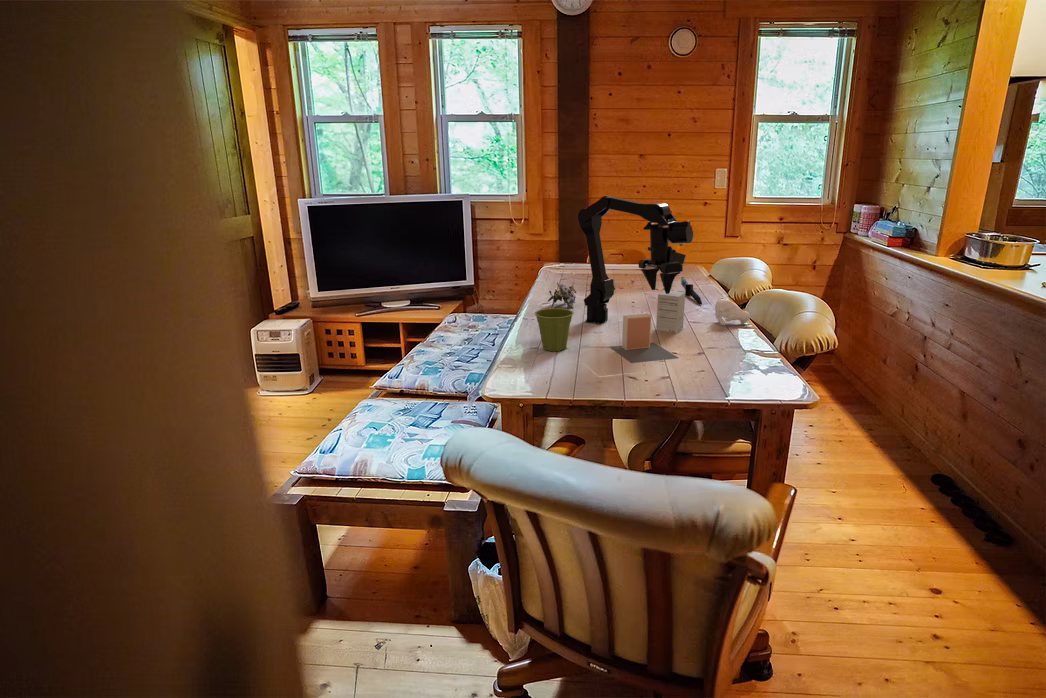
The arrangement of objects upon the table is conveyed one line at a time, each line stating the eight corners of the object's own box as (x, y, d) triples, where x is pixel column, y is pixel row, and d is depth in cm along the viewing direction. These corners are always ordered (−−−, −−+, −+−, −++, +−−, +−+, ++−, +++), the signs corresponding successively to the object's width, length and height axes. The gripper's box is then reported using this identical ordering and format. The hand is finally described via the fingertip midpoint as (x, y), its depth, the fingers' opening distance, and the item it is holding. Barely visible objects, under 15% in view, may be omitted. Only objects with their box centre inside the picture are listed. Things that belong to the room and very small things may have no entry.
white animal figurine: (715, 296, 213) (750, 300, 212) (710, 320, 216) (745, 324, 215) (718, 300, 207) (754, 304, 206) (714, 325, 210) (749, 328, 209)
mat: (609, 347, 187) (609, 346, 187) (653, 343, 191) (653, 342, 191) (631, 363, 173) (631, 362, 172) (679, 359, 176) (679, 358, 176)
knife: (679, 286, 266) (680, 276, 264) (686, 286, 266) (687, 276, 264) (694, 310, 238) (695, 299, 236) (702, 310, 238) (703, 299, 236)
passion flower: (571, 321, 238) (575, 301, 228) (543, 316, 238) (547, 295, 229) (575, 300, 244) (580, 279, 235) (548, 294, 245) (552, 274, 235)
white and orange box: (621, 347, 186) (623, 315, 183) (645, 345, 188) (647, 313, 185) (625, 349, 184) (627, 317, 181) (650, 347, 186) (651, 315, 183)
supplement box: (662, 325, 210) (664, 289, 206) (683, 328, 207) (686, 292, 203) (655, 331, 204) (657, 294, 200) (676, 334, 201) (679, 296, 197)
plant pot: (563, 340, 195) (563, 306, 191) (580, 351, 184) (580, 315, 181) (528, 345, 191) (528, 310, 187) (543, 356, 180) (543, 319, 177)
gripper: (697, 242, 189) (698, 292, 193) (666, 239, 206) (667, 285, 210) (665, 246, 186) (666, 297, 190) (637, 242, 203) (638, 289, 207)
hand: (660, 291), depth 199 cm, fingers open, 9 cm apart
